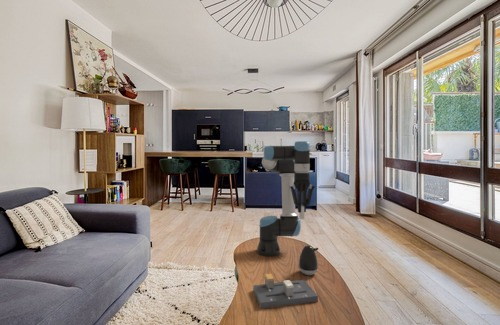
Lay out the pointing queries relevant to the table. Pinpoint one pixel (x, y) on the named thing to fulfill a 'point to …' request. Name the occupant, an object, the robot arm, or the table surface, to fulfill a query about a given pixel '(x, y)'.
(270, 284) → the amber fader
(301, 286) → the console
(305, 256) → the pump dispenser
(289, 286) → the block
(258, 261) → the table surface
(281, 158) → the robot arm
